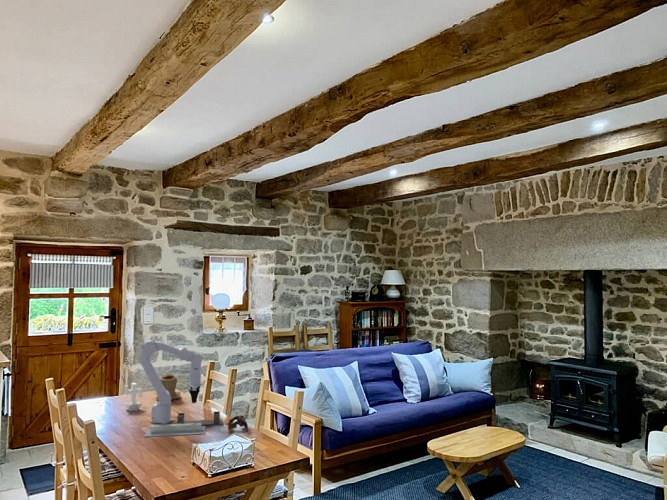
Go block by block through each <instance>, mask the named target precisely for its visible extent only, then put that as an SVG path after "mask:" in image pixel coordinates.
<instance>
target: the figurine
mask: <svg viewBox="0 0 667 500" xmlns="http://www.w3.org/2000/svg"><path fill="white" fill-rule="evenodd" d="M130 385H131V387H130V389H129V384H125V385H124V394H125V395H126V396H130V395H131V396H130V401H129V402H124V405H125V406H126V409H127V410H128V411H129V412H134V411H139V410H140V408H141V406H142V402H140V401H138V400H137V395H138V398H139V399H141V398H143V388H141V387H139V388H137V387H138V386H137V385H138V384H137V383H136V382H131V384H130Z"/></svg>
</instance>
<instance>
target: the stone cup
mask: <svg viewBox="0 0 667 500" xmlns="http://www.w3.org/2000/svg"><path fill="white" fill-rule="evenodd" d="M159 378H160V380H161V382H162V384H163V386H164V387H165V389H166V390H168V391H169V393H170V396H171V401H172V400H179V399H181V392H180V391H176V388H177V383H178V379H177V376H176V375H175V374H166V375H162V376H161V377H159ZM155 399H156V400H157V401H159V399H158V395H156V397H155Z"/></svg>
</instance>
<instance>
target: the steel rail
mask: <svg viewBox="0 0 667 500" xmlns="http://www.w3.org/2000/svg"><path fill="white" fill-rule="evenodd" d="M149 428H150V433H164V432H184V431H201V423H185V424H175V423H171V424H170V423H166V424H151V425H150V427H149Z"/></svg>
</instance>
